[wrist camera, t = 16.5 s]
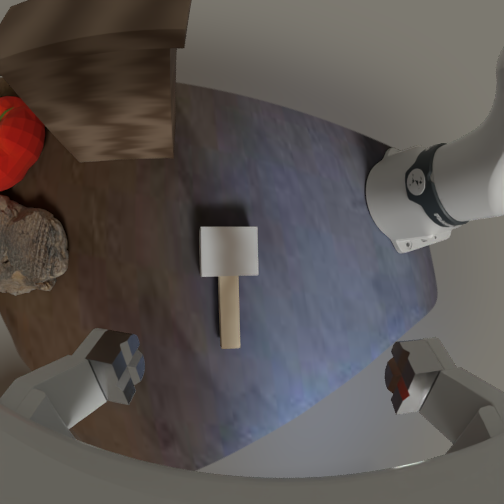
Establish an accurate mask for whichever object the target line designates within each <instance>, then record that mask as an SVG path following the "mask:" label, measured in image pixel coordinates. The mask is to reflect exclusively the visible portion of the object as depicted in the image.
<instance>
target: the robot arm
mask: <svg viewBox="0 0 504 504" xmlns="http://www.w3.org/2000/svg"><path fill="white" fill-rule="evenodd" d="M496 78H497V86H496V94H495V99H494V103H493V106H492V108H491V111H490V113H489V115H488V116H487V118H486V119H485V121H484V122H483V123H482V124H481V125H480V126H479V127H477V128H476V129H475V130H473V131H472V132H470V133H468V134H466V135H465V136H463V137H461V138H459V139H457V140H455V141H453V142H450V143H448V144H447V143H441V144H437V145H433V146H430V147H429V148H427V149H426V148H424V147H422V146H420V145H417V146H413V147H411V148H408V149H405V150H402V151H400V150H398V149H396V148H390V149H388V150H387V151H386V153H385V156H384V158H383V159H382V160H381V161H380V162H379V163H377V164H376V165H375V166H374V167H373V168H372V170H371V171H370V173H369V176H368V179H367V183H366V199H367V204H368V208H369V211H370V214H371V216H372V218H373V220H374V222H375V223H376V225H377V226H378V228H379V229H380V230H381V231H382V232H383V233H384V234H385V235H386V236H388V237H389V238H390V240H391V241H392V243H393V245H394V247H395V249H396V250H397V252H398V253H406V252H409V251H412V250H415V249H418V248H421V247H424V246H427V245H430V244H433V243H436V242H439V241H442V240H445V239H448V238H449V237H450V234H451V230H452V229H454V228H458V227H460V226H461V225H463V224H466V223H467V222H469V221H470V220H477V219H484V218H490V217H497V216H502V215H504V47H503V49H502V51H501V53H500V55H499V58H498V61H497V68H496ZM406 243H407V246H406ZM139 345H140V344H139V341H138V337H137V336H136V335H135V334H130V333H124V332H118V331H112V330H106V329H100V328H96V329H93V330H92V332H91V333H90V334H89V335H88V336H87V338H86V339H85V340H84V341H83V343H82V344H81V345H80V346H79V348H78V349H77V350H76V351H75V353H74V354H73V355H72V356H70V355H67V356H65V357H63V358H61V359H59V360H57V361H54V362H52V363H50V364H48V365H46V366H43V367H41V368H39V369H37V370H35V371H32V372H30V373H28V374H26V375H24V376H21V377H19V378H17V379H16V380H15V381H14V382H13V383H12V384H11V386H10V387H9V388H8V389H7V391H6V392H5V393H4V394H3V396H2V397H1V398H0V504H504V392H503V391H501V390H499V389H498V388H496V387H494V386H493V385H491V384H489V383H487V382H486V381H484V380H482V379H480V378H479V377H477V376H475V375H473V374H472V373H470V372H468V371H467V370H465V369H463V368H461V367H459V368H457V367H456V365H455V363H454V362H453V360H452V359H451V357H450V355H449V354H448V352H447V351H446V349H445V348H444V346H443V344H442V343H441V341H440V340H439V339H438V338H436V337H432V338H425V339H419V340H409V341H398V342H395V344H394V345H393V348H392V351H391V352H392V354H393V358H392V359H390V360H389V361H388V363H387V366H386V369H385V383H386V386H387V389H388V390H389V391H390V392H392V393H393V396H392V398H391V401H392V404H393V407H394V409H395V413H396V415H397V414H405V413H412V412H418V411H420V412H419V413H420V414H421V415H423V416H424V418H426V419H427V420H428V421H429V422H430V423H431V424H432V425H433V426H434V427H435V428H436V429H438V430H439V431H440V432H441V433H442V434H443V435H444V436H445V437H446V438H447V439H448V440H450V441H451V442H452V443H453V445H452V446H451V448H450V449H449V450H448V451H447V453H446V454H445V455H442V456H438V457H435V458H431V459H428V460H424V461H420V462H416V463H412V464H407V465H403V466H398V467H393V468H388V469H382V470H376V471H370V472H363V473H356V474H347V475H338V476H325V477H307V478H261V477H242V476H230V475H220V474H211V473H203V472H197V471H190V470H184V469H179V468H173V467H168V466H163V465H159V464H154V463H150V462H146V461H142V460H138V459H134V458H130V457H127V456H123V455H120V454H116V453H113V452H110V451H107V450H104V449H101V448H98V447H95V446H92V445H89V444H86V443H84V442H81V441H78V440H76V439H75V437H74V436H73V435H72V433H71V432H70V430H69V428H71V427H72V426H74V425H75V424H76V423H78V422H79V421H81V420H82V419H83V418H85V417H86V416H87V415H89V414H90V413H92V412H93V411H94V410H96V409H97V408H98V407H100V406H101V405H103V404H104V403H105V402H107V401H106V400H108V401H112V402H117V403H122V404H127V405H129V404H130V401H131V399H132V397H133V395H134V393H135V391H136V390H135V387H134V385H135V384H137V383H139V382H140V381H141V379H142V377H143V374H144V369H145V364H144V358H143V355H142V354H141V353H140V352H139V350H138V349H137V348H138V346H139Z"/></svg>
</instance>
